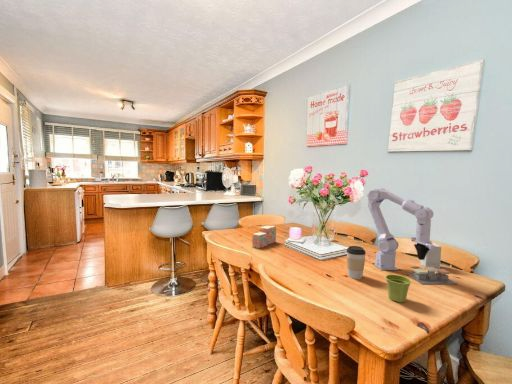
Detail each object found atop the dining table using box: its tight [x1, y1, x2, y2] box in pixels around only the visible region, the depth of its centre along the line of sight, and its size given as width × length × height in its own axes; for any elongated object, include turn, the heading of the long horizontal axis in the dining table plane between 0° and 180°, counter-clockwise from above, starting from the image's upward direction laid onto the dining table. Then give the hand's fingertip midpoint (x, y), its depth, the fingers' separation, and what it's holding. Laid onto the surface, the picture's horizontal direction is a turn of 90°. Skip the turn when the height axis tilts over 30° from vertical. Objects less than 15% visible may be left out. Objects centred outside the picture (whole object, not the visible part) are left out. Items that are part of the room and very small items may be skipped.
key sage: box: [413, 268, 428, 275], centre depth 125 cm, size 4×4×4 cm
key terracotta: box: [437, 268, 450, 275], centre depth 126 cm, size 4×4×4 cm
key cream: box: [424, 267, 438, 275], centre depth 125 cm, size 4×4×4 cm
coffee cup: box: [346, 245, 367, 280], centre depth 127 cm, size 9×9×15 cm
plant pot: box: [385, 274, 412, 303], centre depth 105 cm, size 9×9×9 cm
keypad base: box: [405, 272, 458, 285], centre depth 126 cm, size 17×12×2 cm
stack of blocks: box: [252, 225, 277, 249], centre depth 183 cm, size 21×6×12 cm, turn 144°
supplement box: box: [419, 242, 442, 269], centre depth 142 cm, size 7×7×13 cm
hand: (421, 259), depth 126 cm, fingers closed
